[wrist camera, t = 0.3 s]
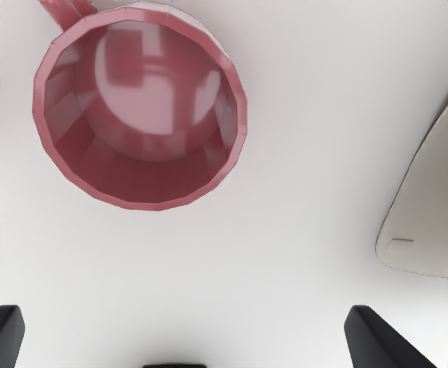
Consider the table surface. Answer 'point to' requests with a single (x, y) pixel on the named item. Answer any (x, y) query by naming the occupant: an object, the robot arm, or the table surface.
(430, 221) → the beige plastic curved shell
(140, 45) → the mug
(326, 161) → the table surface
